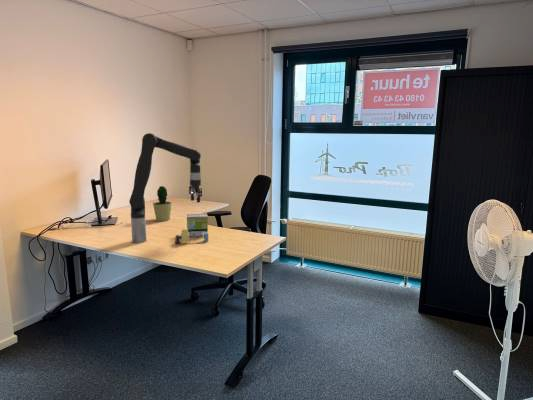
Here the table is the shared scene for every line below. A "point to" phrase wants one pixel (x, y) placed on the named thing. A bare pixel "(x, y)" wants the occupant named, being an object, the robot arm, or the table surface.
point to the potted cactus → (162, 205)
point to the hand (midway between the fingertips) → (195, 201)
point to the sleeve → (185, 235)
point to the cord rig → (203, 235)
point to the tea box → (197, 224)
